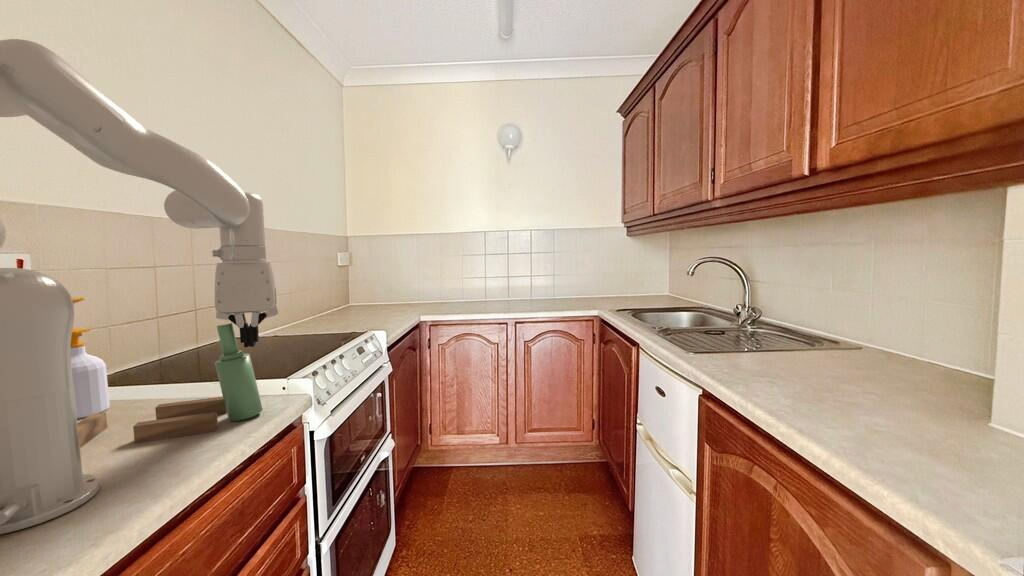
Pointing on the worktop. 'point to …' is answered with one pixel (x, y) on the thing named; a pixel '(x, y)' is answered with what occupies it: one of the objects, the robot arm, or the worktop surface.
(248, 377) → the bottle
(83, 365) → the soap bottle
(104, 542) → the worktop surface
